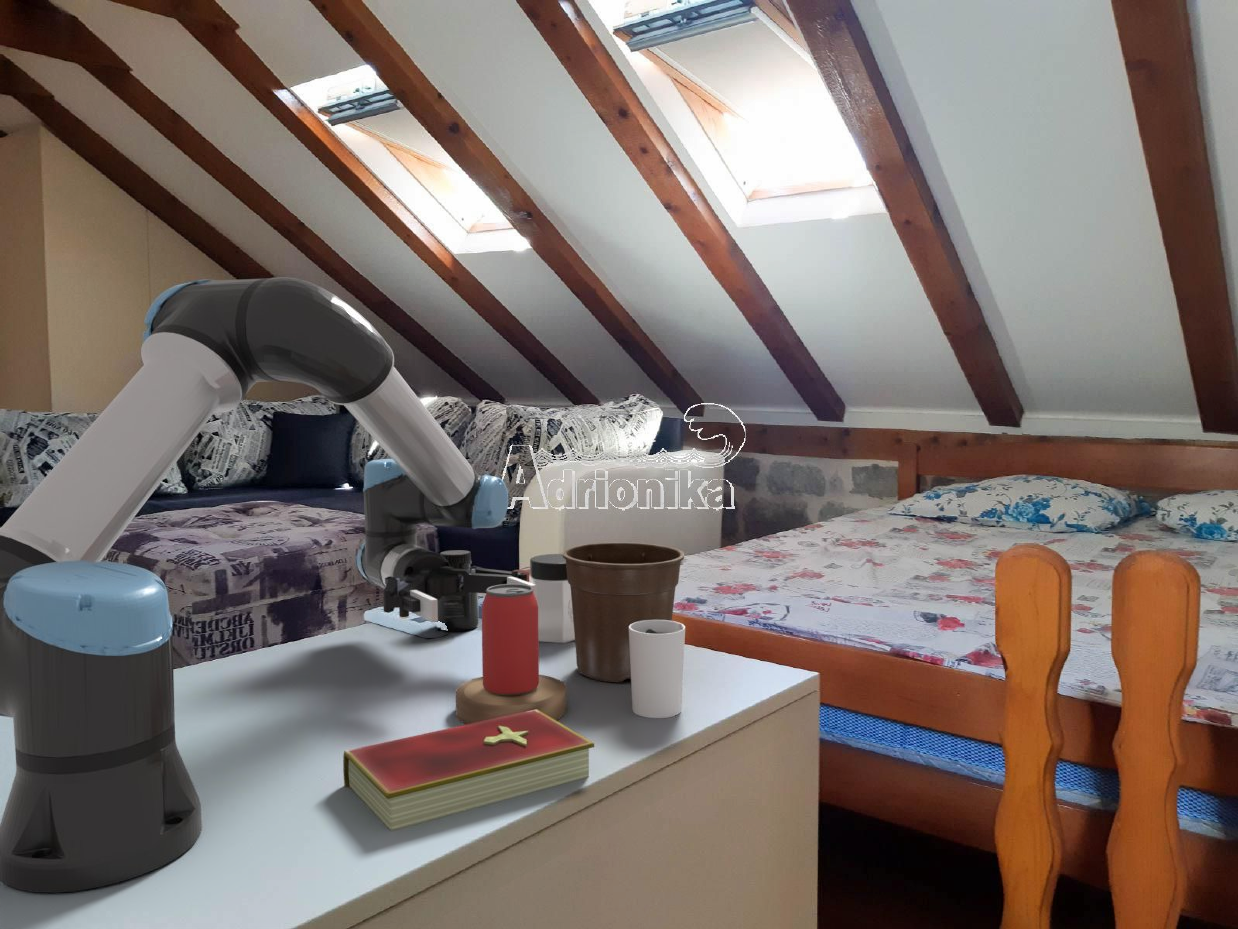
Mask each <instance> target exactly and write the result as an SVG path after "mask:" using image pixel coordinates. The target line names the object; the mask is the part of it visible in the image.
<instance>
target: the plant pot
mask: <svg viewBox="0 0 1238 929" xmlns="http://www.w3.org/2000/svg"><path fill="white" fill-rule="evenodd" d="M561 554H562V556H563V558H564V559H566V567H567V578H568V583H569V584H570V587H571V598H572V610H573V622H574V634H575V640H574V644H575V646H574V647H575V657H576V666H577V669H578V672H579V673H580V674H581V675H583V676H585V677H588V678H589V679H593V680H596V681H600V682H609V683H622V682H623V681H625V680H631V665H630V645H629V626H630V624H632V623H635V622H638V621H644V620H668V621H673V615H674V614H673V612H674V603H675V595H676V587H677V586H678V584H679V578H680V572H681V570H680V569H681V562H682V561H683V560H684V559H685V553H684V551H682V550H681V549H678V548H676V547H672V546H667V545H661V544H655V543H646V542H645V543H644V542H596V543H595V542H594V543H587V544H585V543H584V544H579V545H575V546H572V547H567V548H566V549H564V550H563V551H562V553H561Z"/></svg>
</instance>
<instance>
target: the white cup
mask: <svg viewBox="0 0 1238 929" xmlns="http://www.w3.org/2000/svg"><path fill="white" fill-rule="evenodd" d="M685 637H686V626H685V625H684V624H683V623H681V622H678V621H674V620H672V621H668V620H644V621H638V622H635V623H632V624H630V626H629V645H630V665H631V679H630V684H631V686H630V687H631V703H632V711H633V712H634V714H636V715H637V716H640V717H642V718H643V717H644V718H648V719H665V718H667V719H669V718H671V717H672V718H673V717H675V715H676V716H678V715H679V714H681V713H680V712H682V706H683V705H682V701H683V685H684V683H683V680H684V660H685V659H684V658H685V657H684V656H685V641H686V640H685V639H686V638H685Z"/></svg>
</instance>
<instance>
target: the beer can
mask: <svg viewBox="0 0 1238 929" xmlns="http://www.w3.org/2000/svg"><path fill="white" fill-rule="evenodd" d="M533 590H534V589H533V588H532V587H531V586H528V585H523V584H502V585H495V586H491V587H489V588H487V589H486V592H487V593H485V596H484V599H483V601H482V604H481V605H482V606H481V645H482V646H481V652H482V654H481V656H482V658H481V661H482V677H483V686H484V688H485V690H486V691H488V692H489V693H491V694H495V695H499V696H518V695H523V694H527V693H529V692H532V691H533V690H534V689H536V688H537V686H538V684H539V674H540V658H539V657H540V656H539V655H540V654H539V653H540V651H539V650H540V648H539V647H540V645H539V644H540V642H539V634H538V604H537V600H536V598H535V595H534V593H533Z"/></svg>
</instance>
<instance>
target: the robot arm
mask: <svg viewBox="0 0 1238 929" xmlns="http://www.w3.org/2000/svg"><path fill="white" fill-rule="evenodd" d="M143 323H144V324H145V325H146V330H144V331H143V332H142V344H141V348H140V357H141V360H142V364H143V366H141V368H139V370H138V371H137V372H136V373H135V375H133V377H132V378H131V379H130V380H129V382H128V383H126V385H125V386H124V387H123V389H121V391H119V393H118V394H117V395H116V396H115V397H114V399H112V401H111V402H110V403H109V404H108V405H107V406H106V408H105V409H104V410H103V411H102V412H101V413H100V415H99V416H98V417H97V418H96V419H95V420H94V421H93V422H92V424H91V425H90V426H89V427H88V428H87V429H86V430H85V431H84V433H82V435H81V436H80V437H79V439H78V440H77V441H76V442H75V443H74V444H73V445H72V446H71V448H69V450H68V451H67V452H66V453H65V454H64V455H63V457H62V458H61V459H60V460H59V461H58V462H57V464H56V465H55V466H53V468H52V470H50V471H49V472H48V474H47V475H46V476H45V477H44V479H42V481H40V483H39V484H38V486H36V487H35V488H34V490H33V491H32V492H31V493H30V494H29V495H28V496H27V497H26V499H24V501H23V502H22V503H21V505H20V506H19V507H18V508H17V509H16V510H15V511H14V513H13V514H12V515H11V516H9V518H8V519H7V520H6V522H5V523H3V525H2V526H0V717H1V716H2V717H7V718H12V719H13V736H14V738H13V739H14V749H15V750H14V752H15V776H14V778H13V781H12V782H13V783H12V786H11V787H10V788H11V789H10V792H9V795H8V799H7V802H6V803H5V804H6V805H5V807H4V808H5V809H4V811H3V815H2V818H1V821H0V881H2V883H4V884H5V885H8V886H9V887H12V888H14V889H18V890H22V891H27V892H36V893H64V892H75V891H76V892H77V891H81V890H82V891H83V890H90V889H94V888H100V887H105V886H109V885H113V884H117V883H121V882H123V881H128V880H130V879H133V878H136V877H139V876H142V875H144V874H147V873H150V872H151V871H154V870H156V869H158V868H161V867H162V866H165V865H166V864H168V863H170V862H172V861H174V860H175V859H177V858H178V857H180V856H182V855H183V854H184V853H185V852H186V851H188V850H189V849H190V848H191V847H192V846H193V845H194V844H195V843H196V842H197V840H198V839H199V838H200V836H201V833H202V829H203V826H202V825H203V824H202V821H203V820H202V806H201V805H202V804H201V801H200V797H199V795H198V793H197V790H196V788H195V785H194V783H193V781H192V778H191V777H190V776H191V775H190V774H189V772H188V769H187V767H186V765H185V763H184V760H183V758H182V755H181V752H180V750H179V748H178V746H177V742H176V741H177V740H176V739H177V738H176V723H175V719H176V718H175V717H176V716H175V683H174V682H175V681H174V680H175V679H174V643H173V642H174V641H173V639H174V638H173V629H174V626H173V621H174V620H173V616H172V613H171V612H170V604H169V595H168V590H167V587H166V585H165V582H164V581H163V580H162V579H161V577H159V576H158V574H155V573H154V572H153V571H150V570H149V569H147V568H143V567H140V566H136V565H133V564H129V563H122V562H116V561H107V560H105V561H104V560H103V559H104V558H105V557H106V554H108V552H109V551H110V550H111V548H112V547H113V545H114V544H115V543H116V542H117V540H118V539H119V538H120V536H121V535H122V534H123V532H124V531H125V530H126V528H128V526H129V525H130V523H131V522H132V520H133V519H134V518H135V517H136V515H137V514H138V513H139V512H140V510H141V509H142V507H143V506H144V505H145V503H146V502H147V501H148V499H149V498H150V497H151V496H152V495H153V493H154V492H155V490H156V489H157V488H158V487H159V485H160V484H161V483H162V481H163V480H164V479H165V478H166V476H167V475H168V474H169V473H170V471H171V469H172V468H173V467H174V465H175V464H176V463H177V462H178V460H179V459H180V458H181V456H183V454H184V453H185V451H186V450H187V449H188V447H190V445H191V443H192V442H193V441H194V439H195V438H196V437H197V436H198V434H199V433H200V432H201V430H202V429H203V427H205V425H206V424H207V423H208V422H209V419H211V417H213V415H214V414H224V413H225V414H226V413H229V412H231V411H233V410H235V409H236V408H237V407H238V405H239V404H241V401H243V399H244V398H245V396H246V395H247V394H248V393H249V392H250V390H251V389H252V387H253V386H254V385H255V384H258V383H260V382H261V383H262V382H263V383H264V382H265V383H266V382H267V383H269V382H270V383H273V382H274V383H275V382H293V383H298V384H299V383H300V384H304V385H308V386H310V387H312V388H315V389H316V391H318V392H319V393H321V395H322V396H323V397H324V398H325V399H326V400H327V401H329V402H330V403H332V404H335V405H340V406H344V407H345V408H346V410H347V411H348V412H349V413H350V414H351V415H352V416H353V417H354V418H355V420H356V421H358V423H359V424H360V425H361V426H362V427H363V428H364V429H365V430H366V431H367V433H369V435H370V436H371V437H372V438H373V439H374V440H375V442H376V443H377V444H378V445H379V446H380V447H381V448H382V450H384V451H385V453H387V455H388V456H389V457H390V458H382V459H374V460H370V461H368V462H367V463H365V465H364V472H363V473H364V475H363V476H364V477H363V478H364V479H363V488H362V492H363V503H364V505H363V506H364V530H365V534H364V542H363V543H362V544H361V546H360V547H359V549H358V552H357V556H356V564H357V568H358V571H359V572H360V574H361V575H362V576H363V577H364V578H365V579H366V580H368V582H369V583H371V584H372V585H374V586H376V587H378V588H382V589H384V590H383V592H382V595H383V598H382V599H383V603H382V604H383V612H384V613H386V614H387V613H391V612H394V610H395V608H397V609H398V608H399V610H398V613H399V617H400V618H408V617H410V613H412V614H415V615H417V616H419V618H422V619H424V620H426V621H428V622H430V623H435V622H438V607H437V602H438V601H439V600H441V599H442V598H443V597H444V596H447V597H449V596H451V595H460V596H467V595H469V594H471V593H478V594H486V593H487V592H486V589H487V588H489V587H491V586H495V585H502V584H523V585H528V586H531V587H532V588H533V589H534V590H533V593H534V595H535V598H536V600H537V586H536V585H535V584H532V583H529V581H528V573H527V572H518V569H514V570H512V571H508V570H502V569H501V570H500V569H492V568H490V569H489V568H483V567H481V566H476V565H473V566H470V570H469V569H455V568H453V567H451V566H450V564H449V563H448V561H447V560H446V559H445V558H444V557H443V556H442V555H440V553H438V552H434V551H433V550H429V549H427V548H425V547H421V546H419V545H418V542H417V533H418V528H417V525H422V526H438V527H439V526H441V527H453V528H470V529H474V530H476V529H493V528H496V527H498V526H500V525H501V523H503V521H504V520H505V518H506V513H507V510H508V507H509V492H508V488H507V486H506V483H505V481H504V480H503V479H502V478H500V477H498V476H494V475H489V474H483V475H480V474H478V473H477V472H476V470H475V469H474V468H473V467H472V465H471V464H470V463H469V462H468V460H467V459H466V458H465V457H464V454H462V452H461V451H460V450H459V449H458V447H457V445H455V443H454V442H453V441H452V439H451V438H450V437H449V436H448V435H447V433H446V432H445V430H444V429H443V427H441V425H440V424H439V422H438V420H436V419H435V417H434V416H433V415H432V413H430V411H429V410H428V409H427V408H426V406H425V405H424V403H423V402H422V400H421V399H420V398H419V397H418V396H417V394H416V393H415V392H414V390H413V389H412V388H411V387H410V385H409V384H408V382H407V381H406V380H405V379H404V378H403V376H402V375H401V374H400V372H399V371H398V370H397V368H396V367H395V366H394V365H395V355H394V352H393V349H392V348H391V346H390V345H389V344H388V343H387V341H386V340H385V339H384V337H383V336H382V335H381V334H380V333H379V332H378V331H377V329H376V328H375V326H373V325H372V324H371V323H370V321H368V320H367V319H366V318H365V317H364V316H363V315H362V314H360V312H358V311H357V310H356V309H355V308H353V307H352V306H351V305H350V304H348V303H347V302H345V301H344V300H343V299H341V298H340V297H339V296H337V295H336V294H334V293H332V292H330V291H329V290H327V289H325V288H323V287H321V286H319V285H317V284H314V283H312V282H311V281H310V282H309V281H307V280H303V279H299V278H296V277H290V276H289V277H287V276H279V277H278V276H277V277H271V278H267V277H266V278H250V279H249V278H247V279H218V280H216V279H198V280H195V281H190V282H186V283H181V284H180V283H179V284H176V285H174V286H172V287H170V288H167V289H166V290H163V292H161V293H160V294H159V295H158V296H157V297H156V298H155V299H154V300H153V302H152V303H151V305H150V306H149V308H148V311H147V312H146V315H145V318H144V322H143ZM462 585H463V590H459V589H460V588H461V586H462Z"/></svg>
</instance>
